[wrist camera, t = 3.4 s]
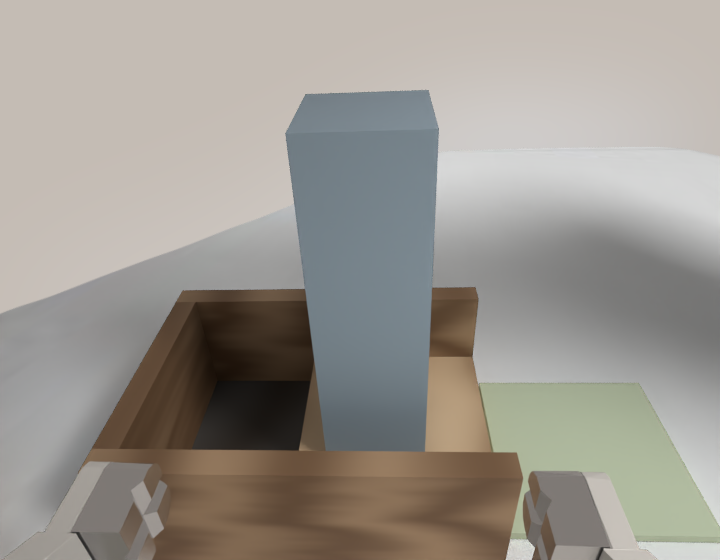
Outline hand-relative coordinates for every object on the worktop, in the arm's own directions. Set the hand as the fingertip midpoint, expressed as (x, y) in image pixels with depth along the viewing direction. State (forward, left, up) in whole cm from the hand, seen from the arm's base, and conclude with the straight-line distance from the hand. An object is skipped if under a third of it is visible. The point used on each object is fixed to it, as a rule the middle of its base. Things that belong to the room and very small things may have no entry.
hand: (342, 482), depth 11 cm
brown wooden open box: (+11, -7, -15) cm, 19 cm away
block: (+8, -9, -12) cm, 17 cm away
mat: (0, -17, -15) cm, 22 cm away
